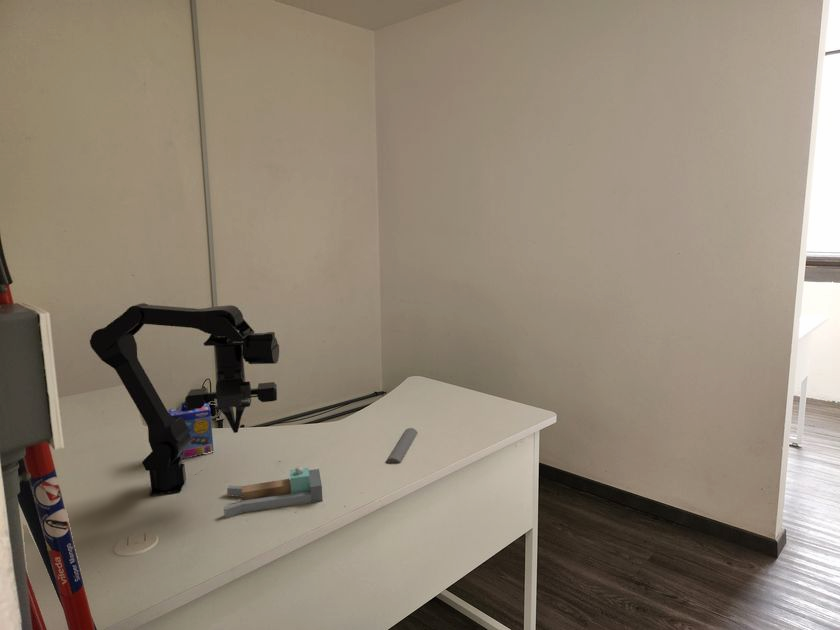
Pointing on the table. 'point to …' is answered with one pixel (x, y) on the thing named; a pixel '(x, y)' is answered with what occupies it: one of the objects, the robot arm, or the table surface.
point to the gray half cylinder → (402, 446)
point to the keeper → (299, 480)
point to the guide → (276, 497)
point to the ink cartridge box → (196, 429)
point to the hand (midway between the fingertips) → (235, 432)
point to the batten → (266, 489)
